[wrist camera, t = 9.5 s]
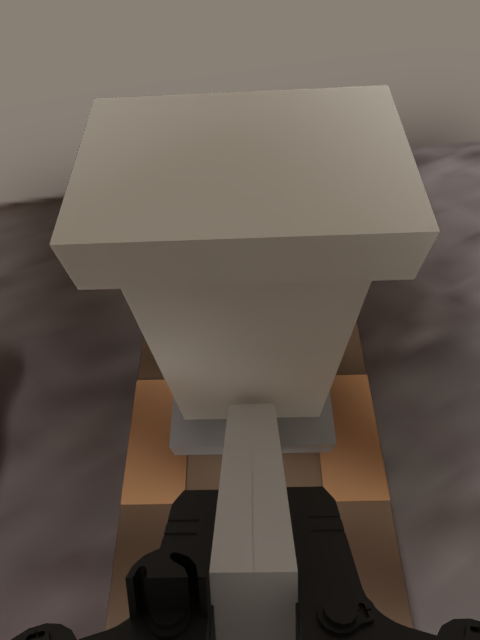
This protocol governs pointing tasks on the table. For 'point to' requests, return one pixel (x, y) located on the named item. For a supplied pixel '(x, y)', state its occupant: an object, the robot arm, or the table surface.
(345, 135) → the fader tab
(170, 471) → the board
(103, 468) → the table surface
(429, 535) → the table surface
